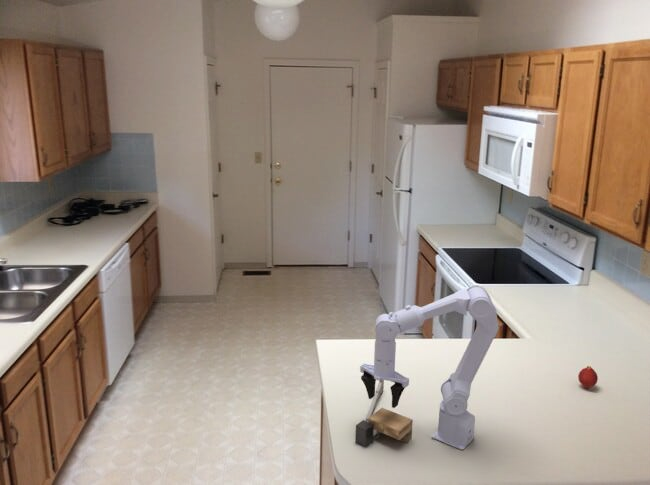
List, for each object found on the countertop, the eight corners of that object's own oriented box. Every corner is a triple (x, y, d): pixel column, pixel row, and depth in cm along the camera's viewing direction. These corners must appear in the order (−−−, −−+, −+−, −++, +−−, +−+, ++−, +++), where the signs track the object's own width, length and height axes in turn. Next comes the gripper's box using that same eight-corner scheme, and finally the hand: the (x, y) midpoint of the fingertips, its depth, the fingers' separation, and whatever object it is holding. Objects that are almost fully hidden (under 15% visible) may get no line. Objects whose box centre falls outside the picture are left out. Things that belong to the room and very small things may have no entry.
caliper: (380, 391, 187) (381, 373, 185) (383, 392, 187) (384, 374, 185) (364, 425, 168) (365, 406, 167) (368, 425, 168) (368, 406, 166)
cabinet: (411, 439, 161) (412, 419, 160) (398, 451, 156) (399, 431, 154) (380, 426, 167) (381, 407, 166) (367, 437, 162) (368, 418, 160)
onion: (581, 381, 195) (584, 360, 193) (598, 388, 191) (602, 366, 189) (574, 387, 191) (577, 365, 189) (591, 394, 187) (595, 371, 185)
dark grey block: (365, 447, 157) (366, 430, 156) (355, 442, 159) (355, 425, 158) (382, 435, 163) (383, 417, 162) (372, 430, 165) (373, 413, 164)
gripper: (354, 355, 160) (353, 399, 163) (400, 370, 151) (398, 416, 155) (368, 346, 165) (367, 389, 169) (413, 360, 157) (411, 405, 160)
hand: (383, 401), depth 162 cm, fingers open, 7 cm apart
